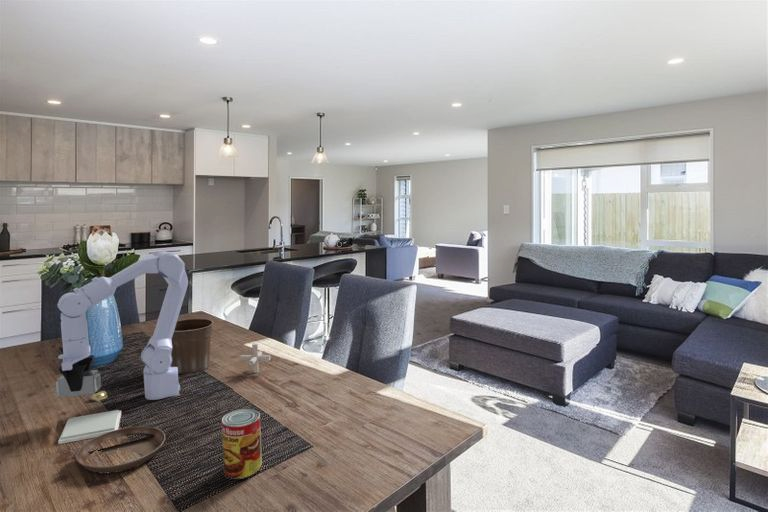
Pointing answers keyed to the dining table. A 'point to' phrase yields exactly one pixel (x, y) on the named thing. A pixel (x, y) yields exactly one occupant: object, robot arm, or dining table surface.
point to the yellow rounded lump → (99, 396)
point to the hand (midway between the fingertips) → (79, 387)
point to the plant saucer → (123, 448)
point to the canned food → (241, 443)
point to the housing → (89, 384)
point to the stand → (90, 426)
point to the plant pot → (191, 345)
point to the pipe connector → (255, 358)
